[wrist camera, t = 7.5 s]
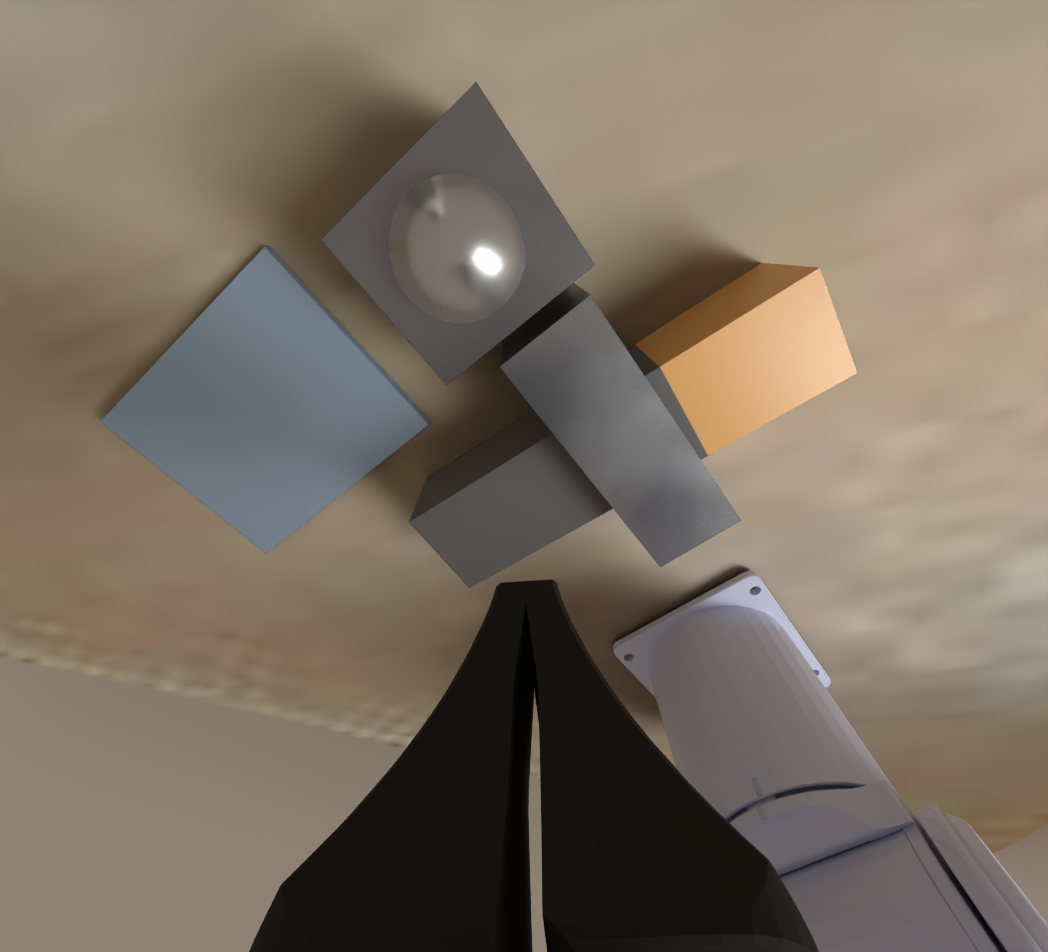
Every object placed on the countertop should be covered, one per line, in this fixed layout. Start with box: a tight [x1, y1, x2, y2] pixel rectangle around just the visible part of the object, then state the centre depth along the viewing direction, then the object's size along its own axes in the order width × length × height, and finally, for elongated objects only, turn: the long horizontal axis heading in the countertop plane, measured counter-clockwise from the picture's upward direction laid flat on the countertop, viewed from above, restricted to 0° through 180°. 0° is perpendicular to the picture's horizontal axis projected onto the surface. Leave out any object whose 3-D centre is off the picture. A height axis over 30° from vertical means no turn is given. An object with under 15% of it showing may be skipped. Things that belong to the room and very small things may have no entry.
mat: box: [100, 247, 430, 554], centre depth 19 cm, size 8×10×1 cm
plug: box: [409, 263, 857, 588], centre depth 17 cm, size 4×15×4 cm, turn 124°
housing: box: [321, 82, 741, 567], centre depth 15 cm, size 14×5×6 cm, turn 38°
